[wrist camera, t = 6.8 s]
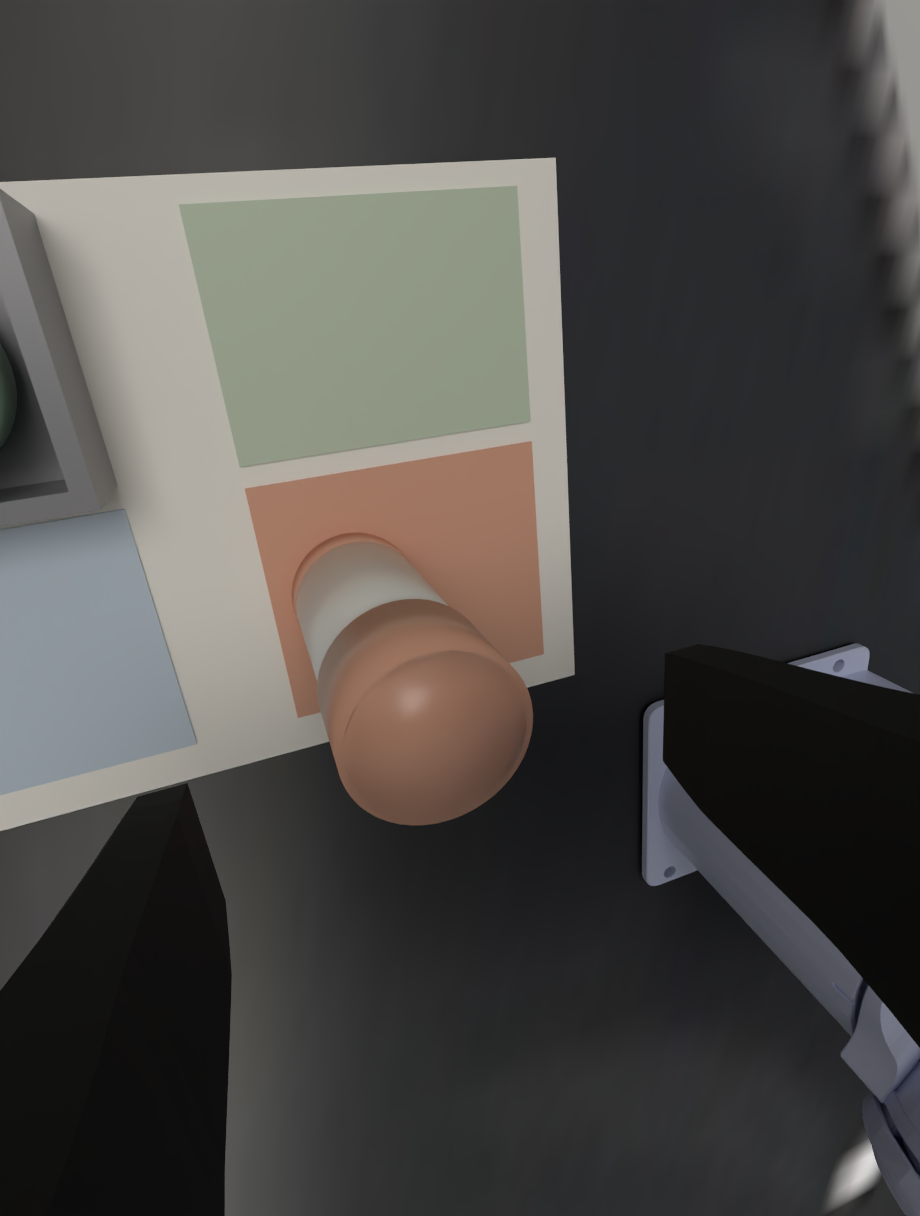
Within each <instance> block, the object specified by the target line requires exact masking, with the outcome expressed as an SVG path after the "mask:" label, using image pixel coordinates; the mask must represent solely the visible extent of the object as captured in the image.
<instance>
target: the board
mask: <svg viewBox="0 0 920 1216" xmlns="http://www.w3.org/2000/svg"><path fill="white" fill-rule="evenodd" d="M0 189H1V190H3V191H4V192H5V193H7V194H8V195H10V196H11V197H12V198H14V199H15V200H16V201H18V202H19V203H20V204H22V205H23V206H24V207H26V208H27V209H28V210H30V211H31V212H33V213H34V216H35V219H36V222H37V225H38V229H39V232H40V235H41V238H42V242H43V245H44V248H45V251H46V255H47V258H48V261H49V264H50V268H51V271H52V274H53V277H54V281H55V284H56V287H57V290H58V294H59V297H60V300H61V303H62V306H63V310H64V313H65V316H66V319H67V323H68V326H69V329H70V332H71V336H72V339H73V342H74V345H75V349H76V352H77V355H78V358H79V362H80V365H81V368H82V371H83V375H84V378H85V381H86V384H87V388H88V391H89V394H90V397H91V401H92V404H93V407H94V410H95V413H96V417H97V420H98V423H99V426H100V430H101V433H102V436H103V439H104V443H105V446H106V449H107V452H108V456H109V459H110V462H111V465H112V469H113V472H114V475H115V478H116V482H117V485H118V486H117V487H116V489H115V490H114V492H113V493H112V494H111V496H110V497H109V499H108V500H107V502H106V503H105V505H104V506H103V507H102V509H101V510H98V511H92V512H86V513H80V514H74V515H68V516H62V517H56V518H50V519H44V520H38V521H31V522H25V523H19V524H13V525H7V526H1V527H0V831H2V830H6V829H10V828H13V827H17V826H21V825H24V824H28V823H32V822H36V821H39V820H43V819H47V818H50V817H54V816H58V815H61V814H65V813H69V812H72V811H76V810H80V809H83V808H87V807H91V806H94V805H98V804H102V803H105V802H109V801H113V800H116V799H120V798H124V797H127V796H131V795H135V794H138V793H142V792H146V791H149V790H153V789H157V788H160V787H164V786H168V785H171V784H175V783H179V782H182V781H186V780H190V779H194V778H197V777H201V776H205V775H208V774H212V773H216V772H219V771H223V770H227V769H230V768H234V767H238V766H241V765H245V764H249V763H252V762H256V761H260V760H263V759H267V758H271V757H274V756H278V755H282V754H285V753H289V752H293V751H296V750H300V749H304V748H307V747H311V746H315V745H318V744H322V743H326V742H329V738H328V735H327V732H326V728H325V725H324V721H323V718H322V715H321V711H320V708H319V704H318V697H317V679H316V676H315V673H314V669H313V666H312V663H311V660H310V656H309V653H308V650H307V647H306V644H305V640H304V637H303V634H302V631H301V629H300V627H299V624H298V621H297V618H296V614H295V611H294V608H293V603H292V585H293V580H294V577H295V574H296V571H297V569H298V567H299V565H300V564H301V562H302V560H303V559H304V558H305V557H306V555H307V554H308V553H309V552H310V551H311V550H312V549H313V548H314V547H316V546H317V545H319V544H320V543H321V542H323V541H325V540H327V539H329V538H331V537H334V536H337V535H341V534H345V533H368V534H372V535H376V536H378V537H381V538H383V539H385V540H387V541H388V542H390V543H392V544H393V545H394V546H395V547H397V549H398V550H399V551H400V552H401V553H402V554H403V555H404V556H405V557H406V558H407V559H408V560H409V561H410V563H411V564H412V565H413V567H414V568H415V569H416V570H417V572H418V573H419V574H420V575H421V576H422V577H423V578H424V579H425V580H426V581H427V583H428V584H429V585H430V586H431V587H432V588H433V589H434V590H435V591H436V592H437V594H438V595H439V596H440V597H441V598H442V599H443V600H444V601H445V602H446V603H447V605H448V606H450V607H451V608H453V609H455V610H457V611H458V612H460V613H461V614H462V615H464V616H465V617H466V618H467V619H468V620H469V621H470V622H471V623H472V624H473V625H474V626H475V627H476V628H477V629H478V630H479V632H480V633H481V634H482V635H483V636H484V637H485V638H486V639H487V640H488V641H489V642H490V643H491V644H492V645H493V647H494V648H495V649H496V650H497V651H498V652H499V653H500V654H501V655H502V656H503V657H504V658H505V659H506V660H507V661H508V663H509V664H510V665H511V666H512V667H513V668H514V669H515V670H516V671H517V672H518V674H519V675H520V676H521V678H522V679H523V681H524V683H525V685H526V687H527V688H528V687H532V686H535V685H539V684H543V683H546V682H550V681H554V680H557V679H561V678H565V677H568V676H572V675H575V667H574V640H573V613H572V586H571V559H570V532H569V505H568V478H567V451H566V424H565V397H564V370H563V343H562V316H561V289H560V262H559V235H558V208H557V181H556V158H540V159H517V160H494V161H472V162H449V163H426V164H404V165H381V166H358V167H336V168H313V169H290V170H268V171H245V172H222V173H200V174H177V175H154V176H132V177H109V178H86V179H64V180H41V181H18V182H0Z"/></svg>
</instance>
